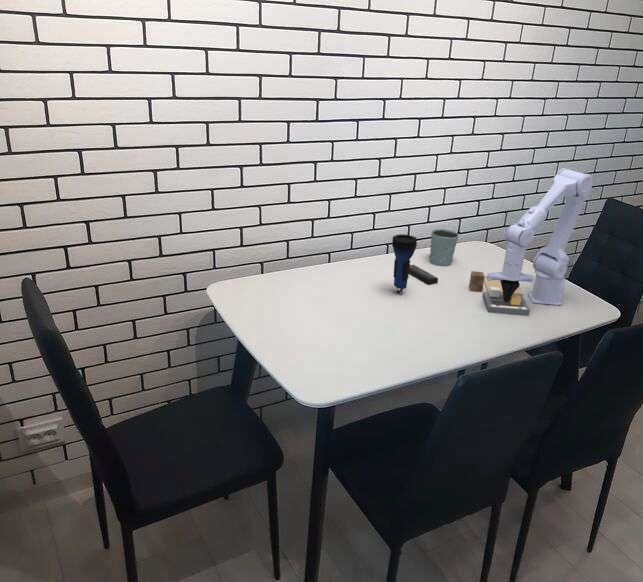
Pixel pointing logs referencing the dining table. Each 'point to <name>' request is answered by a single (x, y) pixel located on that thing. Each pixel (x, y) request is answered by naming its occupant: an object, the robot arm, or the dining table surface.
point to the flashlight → (402, 258)
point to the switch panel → (505, 305)
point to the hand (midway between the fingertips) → (505, 300)
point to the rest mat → (498, 284)
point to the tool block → (476, 281)
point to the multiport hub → (422, 275)
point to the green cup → (442, 247)
